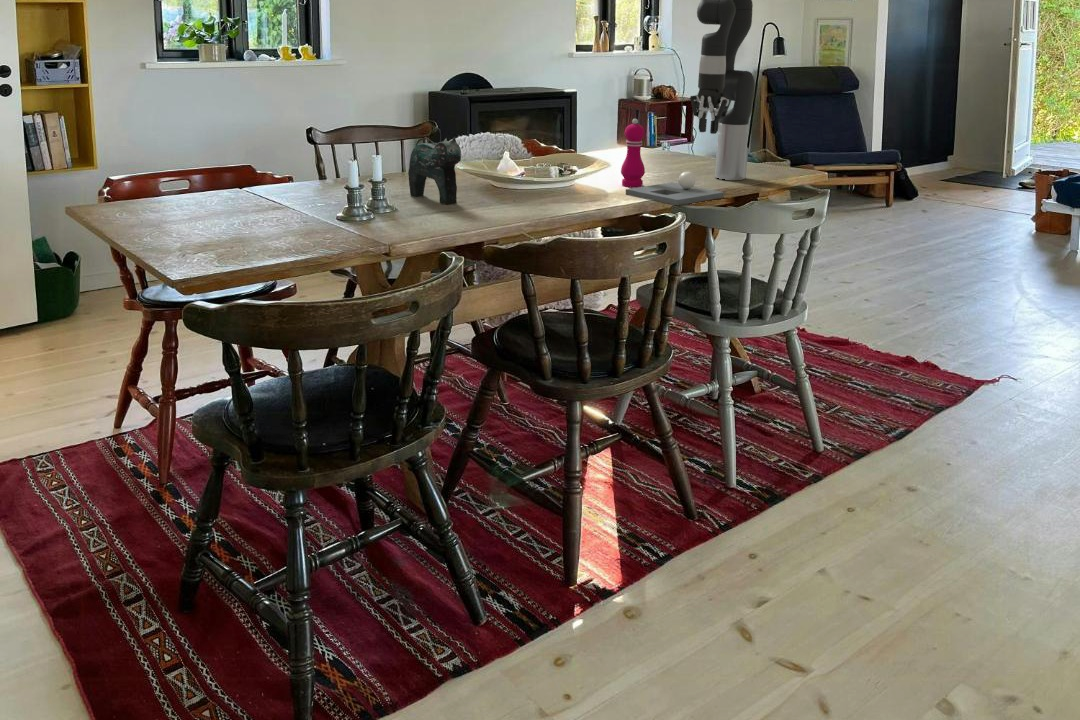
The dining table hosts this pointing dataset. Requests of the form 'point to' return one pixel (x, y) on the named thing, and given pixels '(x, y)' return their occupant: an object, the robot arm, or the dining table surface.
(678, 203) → the plate
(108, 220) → the dining table surface
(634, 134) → the pepper mill
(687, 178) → the ball
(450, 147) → the ceramic cat
